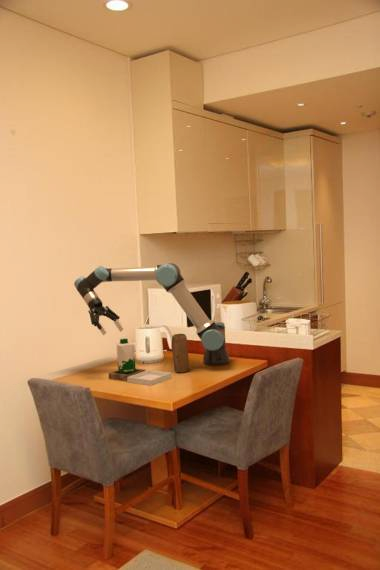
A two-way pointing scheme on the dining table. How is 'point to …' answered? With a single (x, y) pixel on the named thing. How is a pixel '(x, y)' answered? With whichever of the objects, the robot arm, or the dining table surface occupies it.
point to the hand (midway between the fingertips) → (113, 331)
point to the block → (180, 353)
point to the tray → (149, 377)
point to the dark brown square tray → (123, 375)
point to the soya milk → (126, 357)
